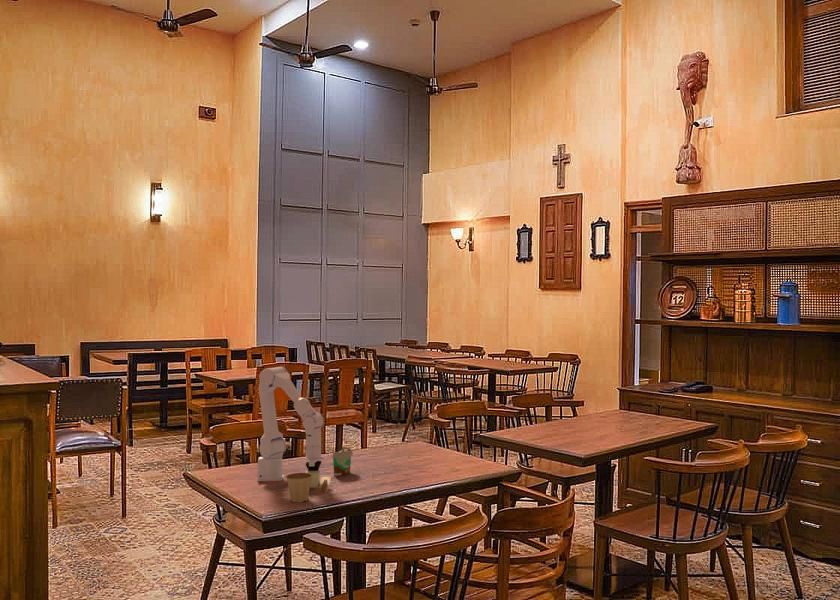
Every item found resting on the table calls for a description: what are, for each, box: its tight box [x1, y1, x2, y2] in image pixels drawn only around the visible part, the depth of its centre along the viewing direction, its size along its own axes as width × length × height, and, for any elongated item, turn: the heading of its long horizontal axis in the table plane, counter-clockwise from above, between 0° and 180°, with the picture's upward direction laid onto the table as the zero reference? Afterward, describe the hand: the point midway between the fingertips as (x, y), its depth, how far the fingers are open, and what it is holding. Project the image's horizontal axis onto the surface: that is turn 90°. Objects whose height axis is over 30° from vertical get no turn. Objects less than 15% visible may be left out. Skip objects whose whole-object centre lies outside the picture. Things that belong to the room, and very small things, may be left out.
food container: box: [332, 446, 354, 477], centre depth 283 cm, size 12×6×10 cm, turn 168°
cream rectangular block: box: [305, 470, 321, 488], centre depth 262 cm, size 5×10×5 cm, turn 3°
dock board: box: [309, 476, 332, 494], centre depth 267 cm, size 12×23×2 cm, turn 3°
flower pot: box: [285, 472, 313, 503], centre depth 247 cm, size 9×9×9 cm
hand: (313, 481), depth 268 cm, fingers closed
